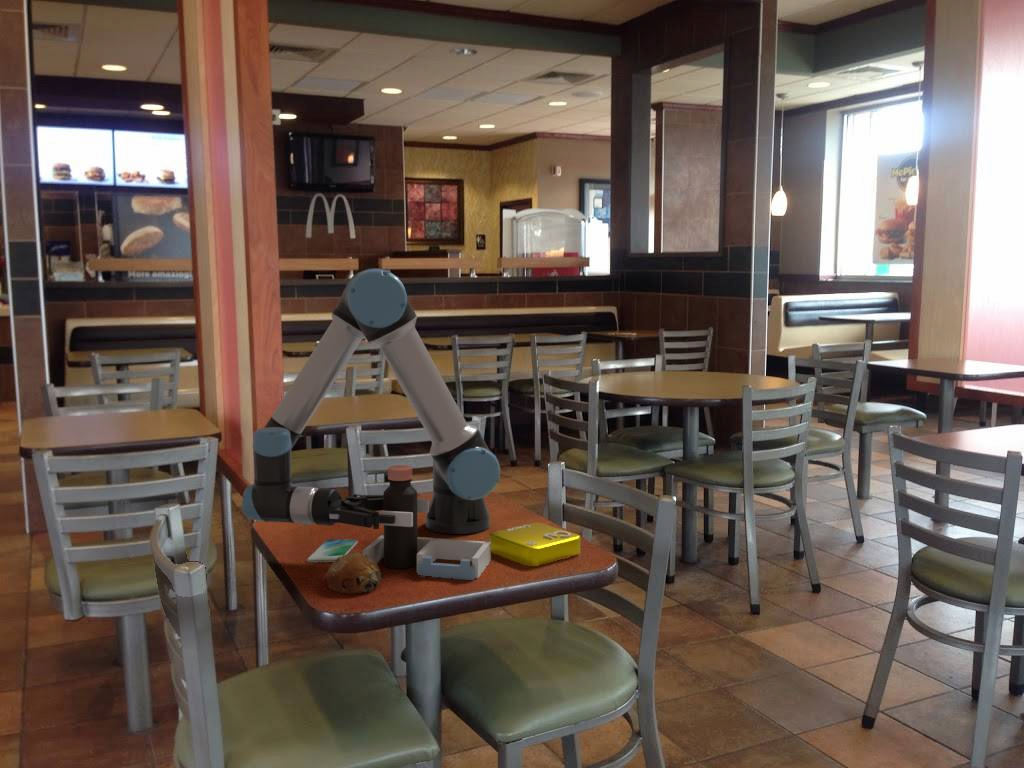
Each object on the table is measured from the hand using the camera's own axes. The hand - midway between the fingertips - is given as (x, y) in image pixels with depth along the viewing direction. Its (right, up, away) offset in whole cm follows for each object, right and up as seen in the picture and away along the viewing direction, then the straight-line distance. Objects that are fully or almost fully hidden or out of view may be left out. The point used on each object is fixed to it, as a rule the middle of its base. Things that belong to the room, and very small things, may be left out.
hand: (420, 512), depth 180 cm
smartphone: (-20, -10, +10) cm, 25 cm away
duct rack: (+1, -11, +1) cm, 11 cm away
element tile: (+23, -11, +11) cm, 28 cm away
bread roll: (-11, -13, -11) cm, 20 cm away
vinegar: (-4, -11, +2) cm, 12 cm away
